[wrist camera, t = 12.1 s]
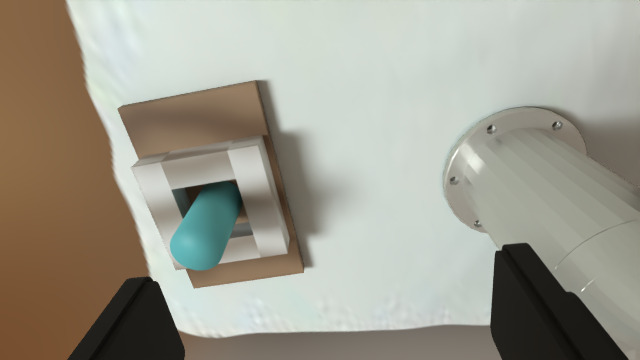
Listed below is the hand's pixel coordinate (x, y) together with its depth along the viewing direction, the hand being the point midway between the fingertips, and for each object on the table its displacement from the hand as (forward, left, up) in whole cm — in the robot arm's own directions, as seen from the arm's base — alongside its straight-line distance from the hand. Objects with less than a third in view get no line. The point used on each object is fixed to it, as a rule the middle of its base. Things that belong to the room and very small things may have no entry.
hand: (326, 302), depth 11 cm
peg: (-3, +14, -24) cm, 28 cm away
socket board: (-3, +14, -25) cm, 28 cm away
